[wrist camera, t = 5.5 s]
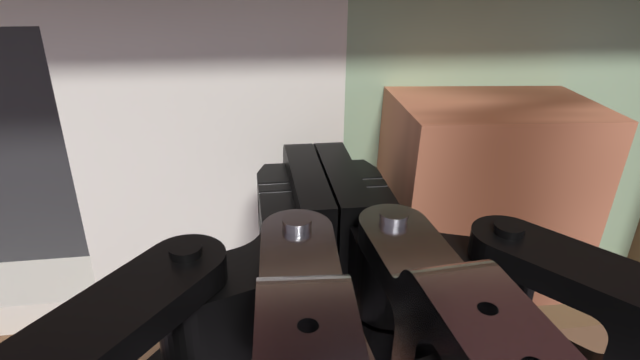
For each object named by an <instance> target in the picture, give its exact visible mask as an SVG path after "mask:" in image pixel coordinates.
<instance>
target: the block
mask: <svg viewBox="0 0 640 360" xmlns="http://www.w3.org/2000/svg"><path fill="white" fill-rule="evenodd" d="M638 123H639V122H637V121H635V120H633V119H631V118H629V117H627V116H625V115H622V114H620V113H618V112H616V111H614V110H612V109H610V108H608V107H606V106H603V105H601V104H599V103H597V102H595V101H593V100H591V99H589V98H587V97H584V96H582V95H580V94H578V93H576V92H574V91H572V90H570V89H568V88H565V87H563V86H385V87H384V93H383V104H382V115H381V126H380V137H379V147H378V158H377V169H378V170H379V172H380V173H381V175H382V177H383V179H384V180H385V181H386V183H387V185H388V187H389V188H390V189H391V191H392V193H393V194H394V196H395V197H396V199H397V201H398V202H399V204H400V205H404V206H408V207H411V208H413V209H416V210H418V211H419V212H421V213H422V214H424V215H425V216H426V218H427V219H428V220H429V221H430V222H431V223H432V225H433V226H434V227H435V228H436V229H437V231H438V232H440V233H446V234H454V235H463V236H470V232H471V226H472V223H473V222H474V221H475V220H476V219H478V218H481V217H484V216H489V215H503V216H510V217H515V218H519V219H522V220H525V221H527V222H530V223H533V224H536V225H538V226H541V227H544V228H547V229H550V230H552V231H555V232H558V233H561V234H563V235H566V236H569V237H572V238H574V239H577V240H580V241H583V242H585V243H588V244H591V245H594V246H596V247H599V245H600V241H601V238H602V235H603V232H604V229H605V226H606V223H607V220H608V217H609V213H610V210H611V207H612V204H613V201H614V198H615V195H616V192H617V189H618V185H619V182H620V179H621V176H622V173H623V170H624V167H625V164H626V161H627V157H628V154H629V151H630V148H631V145H632V142H633V139H634V136H635V133H636V129H637V126H638ZM532 301H533V302H534V303H535V304H536V306H544V305H558V304H562V303H560V302H558V301H556V300H553V299H551V298H549V297H547V296H544V295H542V294H540V293H538V292H534V296H533V300H532Z"/></svg>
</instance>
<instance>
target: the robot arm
mask: <svg viewBox="0 0 640 360" xmlns="http://www.w3.org/2000/svg"><path fill="white" fill-rule="evenodd" d="M257 194H258V220H259V235H258V236H257V237H256V238H255V239H254V240H253V241H251V242H249V243H248V244H246V245H243V246H241V247H238V248H235V249H231V250H227V251H226V248H225V246H224V244H223V243H222V242H221V241H219V240H218V239H216V238H214V237H211V236H208V235H202V234H185V235H179V236H174V237H171V238H168V239H165V240H163V241H161V242H159V243H157V244H156V245H154V246H153V247H151V248H150V249H148V250H146V251H145V252H143V253H142V254H140V255H138V256H137V257H135V258H134V259H132V260H131V261H129V262H127V263H126V264H124V265H123V266H121V267H119V268H118V269H116V270H115V271H113V272H112V273H110V274H108V275H107V276H105V277H104V278H102V279H100V280H99V281H97V282H96V283H94V284H93V285H91V286H89V287H88V288H86V289H85V290H83V291H82V292H80V293H78V294H77V295H75V296H74V297H72V298H70V299H69V300H67V301H66V302H64V303H63V304H61V305H59V306H58V307H56V308H55V309H53V310H51V311H50V312H48V313H47V314H45V315H44V316H42V317H40V318H39V319H37V320H36V321H34V322H33V323H31V324H29V325H28V326H26V327H25V328H23V329H21V330H20V331H18V332H17V333H15V334H14V335H12V336H10V337H9V338H7V339H6V340H4V341H2V342H1V343H0V360H138V359H139V358H140V357H142V356H143V355H144V354H145V353H146V352H147V351H149V350H150V349H151V348H152V347H153V346H155V345H156V344H157V343H158V342H159V343H160V348H159V349H158V350H157V351H156V352H155V353H154V354H152V355H151V356H150V357H149V358H148V359H147V360H640V262H638V261H635V260H632V259H629V258H627V257H624V256H621V255H618V254H616V253H613V252H610V251H607V250H605V249H602V248H599V247H596V246H594V245H591V244H588V243H585V242H583V241H580V240H577V239H574V238H572V237H569V236H566V235H563V234H561V233H558V232H555V231H552V230H550V229H547V228H544V227H541V226H538V225H536V224H533V223H530V222H527V221H525V220H522V219H519V218H515V217H510V216H503V215H489V216H484V217H481V218H478V219H476V220H475V221H474V222H473V223H472V226H471V232H470V236H463V235H454V234H446V233H440V232H438V231H437V229H436V228H435V227H434V226H433V225H432V223H431V222H430V221H429V220H428V219H427V218H426V216H425V215H424V214H422V213H421V212H419V211H418V210H416V209H413V208H411V207H408V206H404V205H400V204H399V202H398V201H397V199H396V197H395V196H394V194H393V193H392V191H391V189H390V188H389V187H388V185H387V183H386V181H385V180H384V179H383V177H382V175H381V173H380V172H379V170H378V169H377V167H375V166H374V165H372V164H370V163H369V162H367V161H365V160H364V159H362V160H352V159H351V157H350V155H349V153H348V151H347V149H346V148H345V146H344V144H343V142H332V143H314V144H312V143H309V144H284V145H283V163H277V164H264V165H263V166H262V167H261V169H260V170H259V171H258V172H257ZM534 292H538V293H540V294H542V295H544V296H547V297H549V298H551V299H553V300H556V301H558V302H560V303H562V304H565V305H567V306H569V307H571V308H574V309H576V310H578V311H580V312H583V313H585V314H587V315H589V316H591V317H593V318H595V319H596V320H598V321H599V322H600V323H601V324H602V325H603V326H604V328H605V330H606V332H607V334H608V344H607V347H606V350H605V353H604V354H600V353H596V352H593V351H591V350H589V349H586V348H584V347H582V346H580V345H578V344H576V343H574V342H572V341H570V340H568V338H567V337H566V336H565V335H564V334H563V333H562V332H561V331H560V330H559V329H558V328H557V327H556V326H555V325H554V324H553V323H552V321H551V320H550V319H549V318H548V317H547V316H546V315H545V314H544V313H543V312H542V311H541V310H540V309H539V308H538V307H537V306H536V304H535V303H534V302H533V301H532V300H533V296H534Z"/></svg>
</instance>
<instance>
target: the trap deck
mask: <svg viewBox="0 0 640 360" xmlns="http://www.w3.org/2000/svg"><path fill="white" fill-rule="evenodd" d="M385 86H563V87H565V88H568V89H570V90H572V91H574V92H576V93H578V94H580V95H582V96H584V97H587V98H589V99H591V100H593V101H595V102H597V103H599V104H601V105H603V106H606V107H608V108H610V109H612V110H614V111H616V112H618V113H620V114H622V115H625V116H627V117H629V118H631V119H633V120H635V121H637V122H639V123H638V126H637V129H636V133H635V136H634V139H633V142H632V145H631V148H630V151H629V154H628V157H627V161H626V164H625V167H624V170H623V173H622V176H621V179H620V182H619V185H618V189H617V192H616V195H615V198H614V201H613V204H612V207H611V210H610V213H609V217H608V220H607V223H606V226H605V229H604V232H603V235H602V238H601V241H600V245H599V248H602V249H605V250H607V251H610V252H613V253H616V254H618V255H621V256H624V257H627V258H629V259H632V260H635V261H638V262H640V0H0V343H1V342H2V341H4V340H6V339H7V338H9V337H10V336H12V335H14V334H15V333H17V332H18V331H20V330H21V329H23V328H25V327H26V326H28V325H29V324H31V323H33V322H34V321H36V320H37V319H39V318H40V317H42V316H44V315H45V314H47V313H48V312H50V311H51V310H53V309H55V308H56V307H58V306H59V305H61V304H63V303H64V302H66V301H67V300H69V299H70V298H72V297H74V296H75V295H77V294H78V293H80V292H82V291H83V290H85V289H86V288H88V287H89V286H91V285H93V284H94V283H96V282H97V281H99V280H100V279H102V278H104V277H105V276H107V275H108V274H110V273H112V272H113V271H115V270H116V269H118V268H119V267H121V266H123V265H124V264H126V263H127V262H129V261H131V260H132V259H134V258H135V257H137V256H138V255H140V254H142V253H143V252H145V251H146V250H148V249H150V248H151V247H153V246H154V245H156V244H157V243H159V242H161V241H163V240H165V239H168V238H171V237H174V236H179V235H185V234H202V235H208V236H211V237H214V238H216V239H218V240H219V241H221V242H222V243H223V244H224V246H225V248H226V251H227V250H231V249H235V248H238V247H241V246H243V245H246V244H248V243H249V242H251V241H253V240H254V239H255V238H256V237H257V236H258V235H259V220H258V194H257V172H258V171H259V170H260V169H261V167H262V166H263V165H264V164H277V163H283V145H284V144H309V143H312V144H314V143H332V142H343V144H344V146H345V148H346V149H347V151H348V153H349V155H350V157H351V159H352V160H362V159H364V160H365V161H367V162H369V163H370V164H372V165H374V166H375V167H377V158H378V147H379V137H380V126H381V115H382V104H383V93H384V87H385ZM537 307H538V308H539V309H540V310H541V311H542V312H543V313H544V314H545V315H546V316H547V317H548V318H549V319H550V320H551V321H552V323H553V324H554V325H555V326H556V327H557V328H558V329H559V330H560V331H561V332H562V333H563V334H564V335H565V336H566V337H567V338H568V340H570V341H572V342H574V343H576V344H578V345H580V346H582V347H584V348H586V349H589V350H591V351H593V352H596V353H600V354H603V353H605V350H606V347H607V344H608V334H607V332H606V330H605V328H604V326H603V325H602V324H601V323H600V322H599V321H598V320H596V319H595V318H593V317H591V316H589V315H587V314H585V313H583V312H580V311H578V310H576V309H574V308H571V307H569V306H567V305H565V304H558V305H544V306H537ZM159 348H160V343H159V342H158V343H157V344H156V345H155V346H153V347H152V348H151V349H150V350H149V351H147V352H146V353H145V354H144V355H143V356H142V357H140V358H139V359H138V360H147V359H148V358H149V357H150V356H151V355H152V354H154V353H155V352H156V351H157V350H158V349H159Z"/></svg>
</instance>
